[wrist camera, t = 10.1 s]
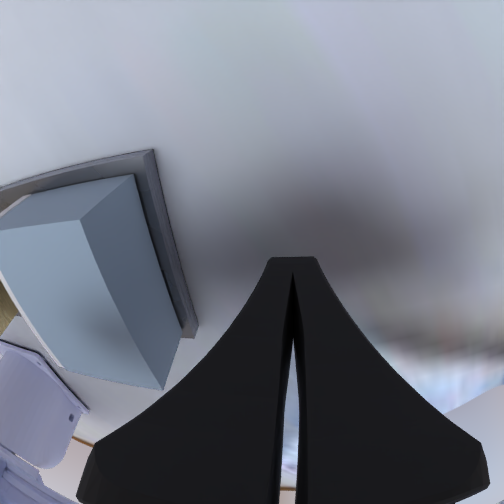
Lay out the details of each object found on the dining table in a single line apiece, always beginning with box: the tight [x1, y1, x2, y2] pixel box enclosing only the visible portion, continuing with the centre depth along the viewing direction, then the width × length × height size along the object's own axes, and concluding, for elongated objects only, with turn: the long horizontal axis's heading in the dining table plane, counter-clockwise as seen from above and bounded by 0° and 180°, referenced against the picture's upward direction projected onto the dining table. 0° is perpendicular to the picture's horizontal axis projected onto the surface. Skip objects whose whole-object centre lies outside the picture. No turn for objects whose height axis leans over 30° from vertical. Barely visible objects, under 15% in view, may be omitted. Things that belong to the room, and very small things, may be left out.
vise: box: [0, 149, 199, 339], centre depth 11 cm, size 8×18×4 cm, turn 96°
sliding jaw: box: [0, 174, 183, 390], centre depth 9 cm, size 7×6×3 cm
